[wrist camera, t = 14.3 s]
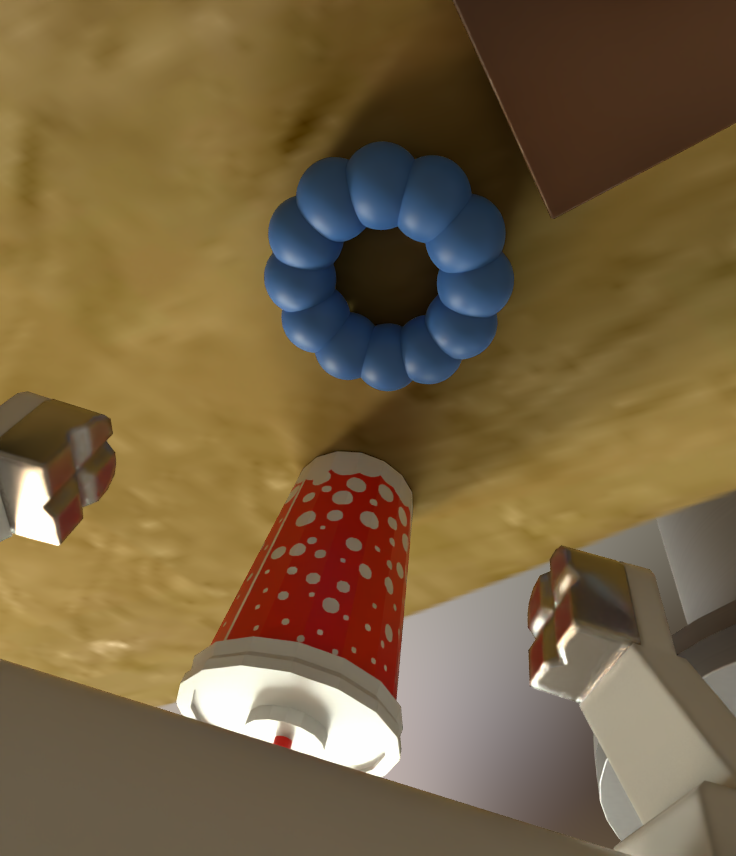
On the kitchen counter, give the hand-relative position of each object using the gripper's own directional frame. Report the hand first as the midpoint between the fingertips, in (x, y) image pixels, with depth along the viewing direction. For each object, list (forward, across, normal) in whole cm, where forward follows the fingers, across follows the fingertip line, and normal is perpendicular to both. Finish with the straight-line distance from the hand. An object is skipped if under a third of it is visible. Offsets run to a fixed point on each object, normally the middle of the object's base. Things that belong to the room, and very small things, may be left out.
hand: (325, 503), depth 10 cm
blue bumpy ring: (+8, 0, -1) cm, 9 cm away
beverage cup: (+9, 0, +8) cm, 12 cm away
